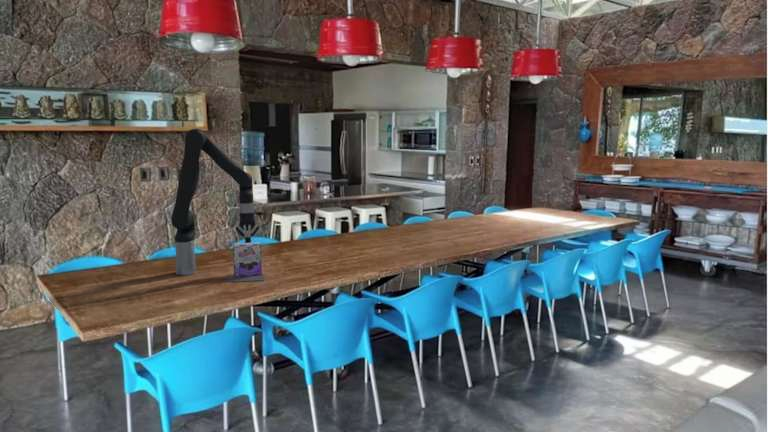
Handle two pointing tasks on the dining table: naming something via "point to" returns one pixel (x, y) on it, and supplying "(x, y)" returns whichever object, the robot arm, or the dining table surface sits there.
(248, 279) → the mat
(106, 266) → the dining table surface
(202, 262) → the dining table surface
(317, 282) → the dining table surface
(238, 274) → the candy box
